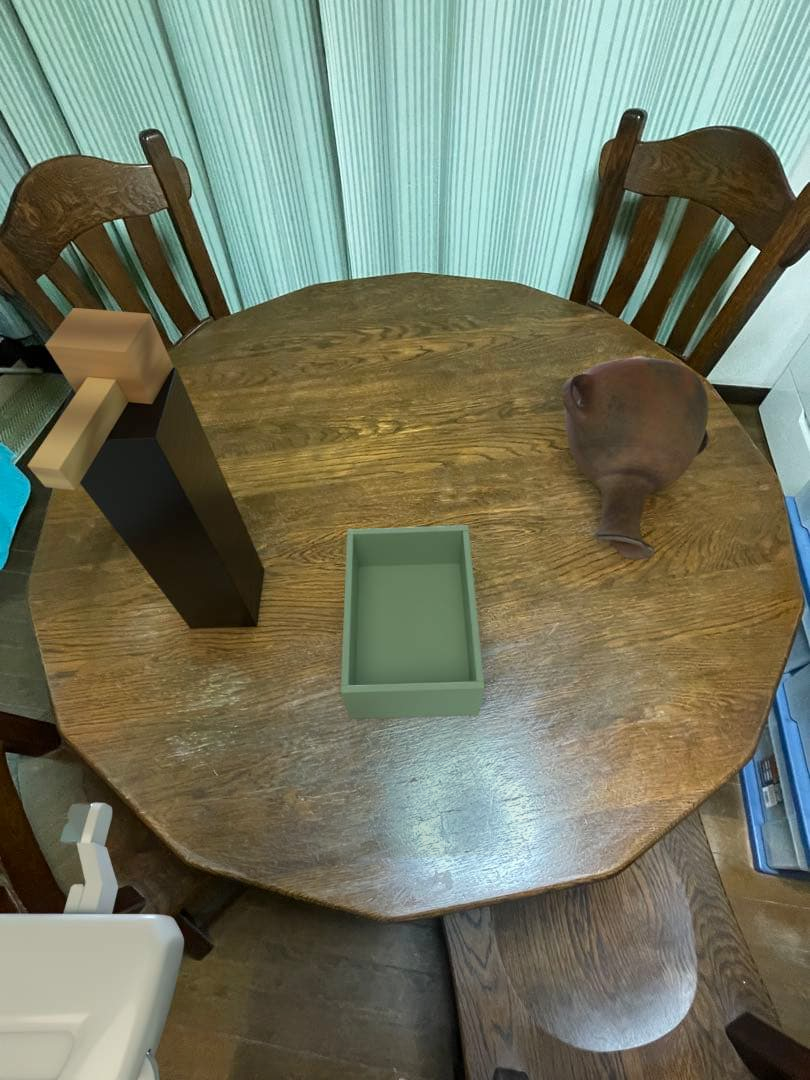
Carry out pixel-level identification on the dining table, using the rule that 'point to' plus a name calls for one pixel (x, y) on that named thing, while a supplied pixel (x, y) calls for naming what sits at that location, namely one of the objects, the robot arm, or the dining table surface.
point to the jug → (634, 437)
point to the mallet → (98, 386)
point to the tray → (410, 624)
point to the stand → (177, 510)
